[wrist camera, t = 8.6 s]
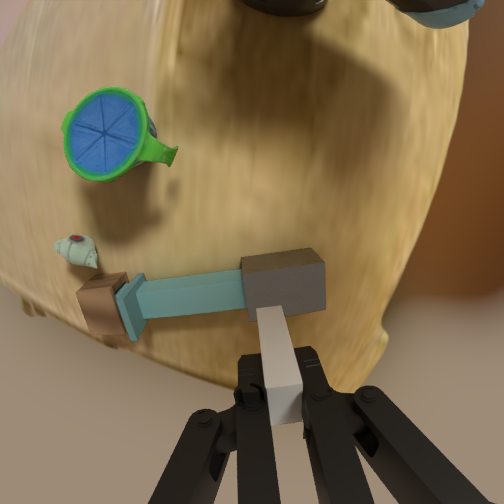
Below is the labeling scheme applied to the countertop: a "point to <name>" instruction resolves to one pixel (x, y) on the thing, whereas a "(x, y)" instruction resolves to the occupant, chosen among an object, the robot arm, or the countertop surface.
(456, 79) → the countertop surface
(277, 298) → the sleeve
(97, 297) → the socket block
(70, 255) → the robot head
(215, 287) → the tube
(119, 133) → the snack cup
